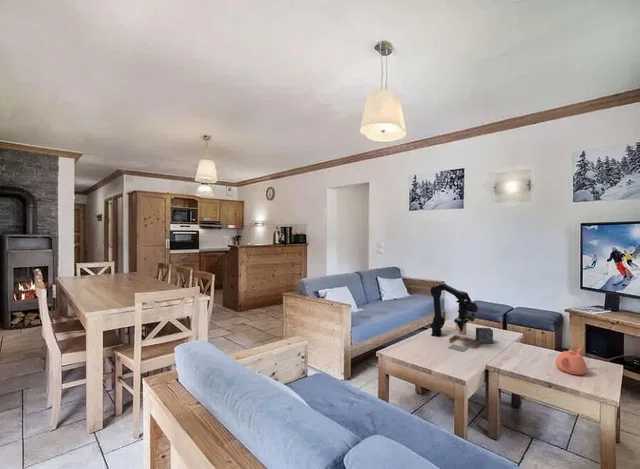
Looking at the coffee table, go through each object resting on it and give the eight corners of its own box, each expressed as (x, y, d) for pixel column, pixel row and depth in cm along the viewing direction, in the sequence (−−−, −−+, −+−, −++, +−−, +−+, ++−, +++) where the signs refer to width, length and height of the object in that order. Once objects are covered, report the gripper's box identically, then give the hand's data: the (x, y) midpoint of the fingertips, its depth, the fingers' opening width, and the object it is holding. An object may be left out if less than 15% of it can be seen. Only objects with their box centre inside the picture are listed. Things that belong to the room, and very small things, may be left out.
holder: (449, 342, 243) (449, 338, 243) (454, 338, 252) (454, 335, 251) (474, 348, 231) (474, 344, 231) (479, 344, 239) (479, 340, 239)
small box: (489, 341, 247) (489, 327, 247) (493, 344, 240) (493, 330, 240) (475, 340, 248) (475, 327, 248) (478, 343, 241) (478, 329, 241)
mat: (448, 348, 232) (448, 347, 232) (452, 344, 239) (452, 344, 239) (463, 352, 225) (463, 351, 225) (468, 348, 231) (468, 348, 231)
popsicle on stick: (465, 335, 234) (465, 324, 234) (454, 333, 239) (454, 322, 239) (467, 333, 238) (467, 322, 238) (457, 331, 243) (457, 321, 243)
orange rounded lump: (566, 362, 207) (567, 343, 207) (595, 371, 194) (595, 351, 194) (548, 369, 197) (548, 349, 197) (576, 379, 184) (577, 358, 184)
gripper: (470, 313, 225) (470, 335, 225) (478, 308, 239) (478, 329, 239) (454, 311, 233) (453, 332, 233) (462, 306, 246) (462, 326, 247)
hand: (462, 330), depth 238 cm, fingers closed on popsicle on stick, 5 cm apart
